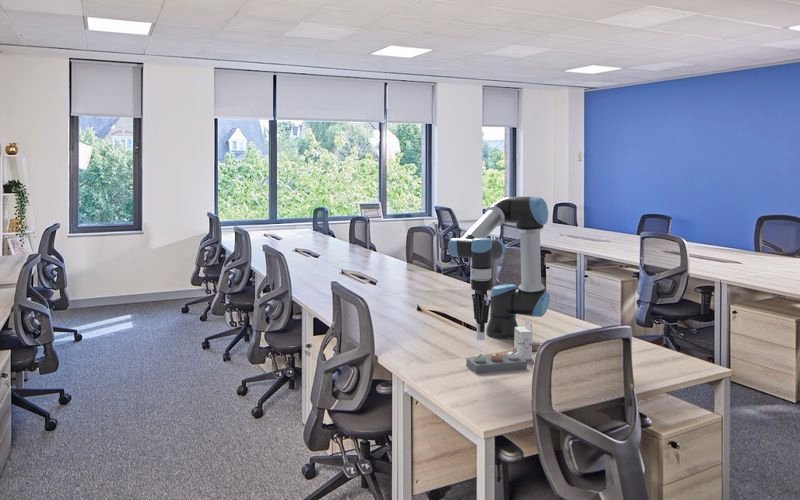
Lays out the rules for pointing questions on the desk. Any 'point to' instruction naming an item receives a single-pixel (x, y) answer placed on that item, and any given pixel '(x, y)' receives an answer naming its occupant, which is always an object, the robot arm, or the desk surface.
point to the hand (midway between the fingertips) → (480, 339)
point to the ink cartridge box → (523, 341)
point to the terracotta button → (496, 357)
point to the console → (496, 364)
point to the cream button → (513, 355)
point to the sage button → (479, 358)
